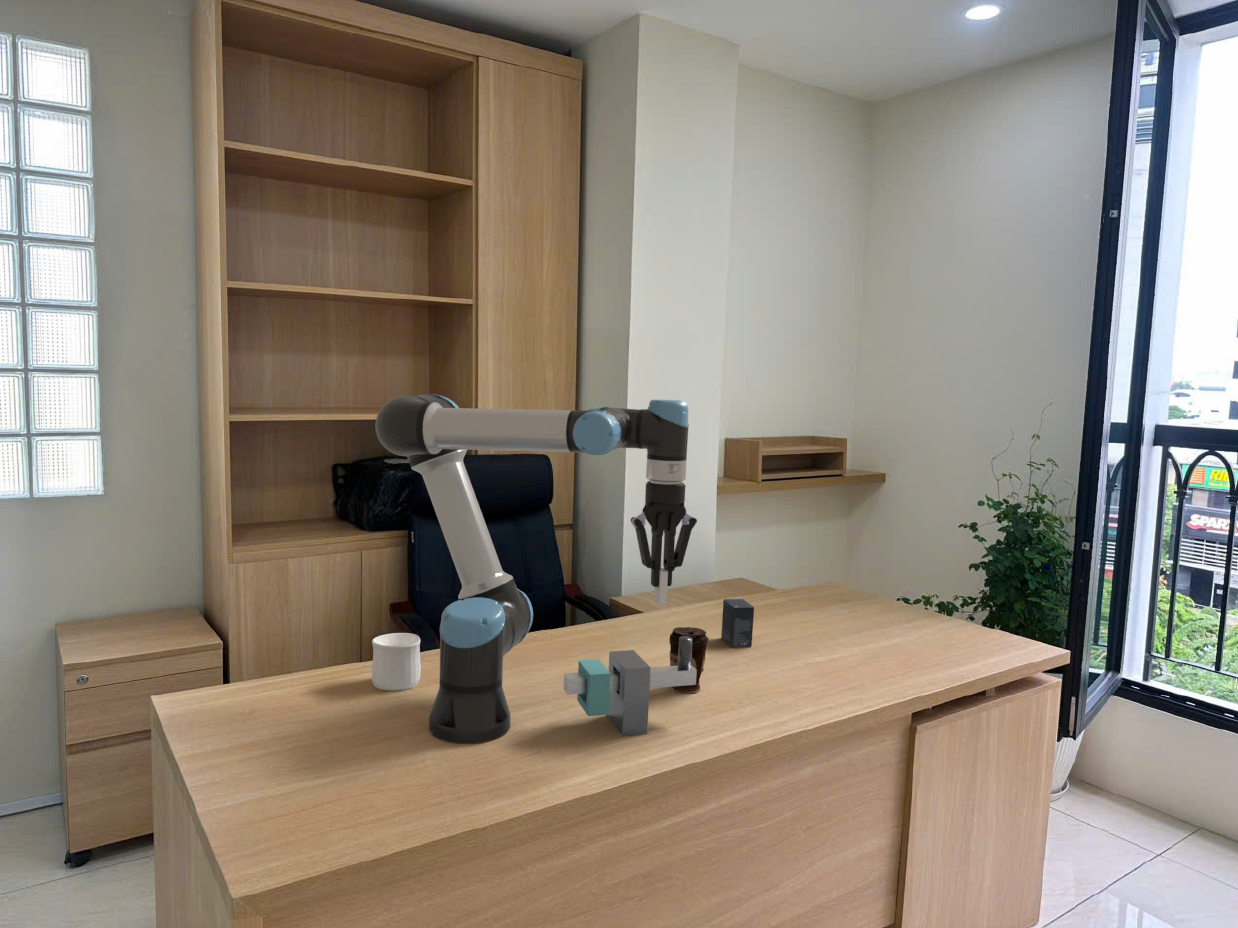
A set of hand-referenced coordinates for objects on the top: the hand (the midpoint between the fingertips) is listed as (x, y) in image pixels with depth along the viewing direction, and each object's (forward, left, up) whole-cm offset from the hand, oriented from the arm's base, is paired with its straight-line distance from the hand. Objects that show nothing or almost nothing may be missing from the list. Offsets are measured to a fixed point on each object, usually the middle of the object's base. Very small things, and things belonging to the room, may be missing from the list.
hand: (660, 602), depth 165 cm
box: (+38, +42, -24) cm, 62 cm away
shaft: (-5, 0, -17) cm, 17 cm away
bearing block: (-6, 0, -24) cm, 25 cm away
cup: (-47, +30, -24) cm, 61 cm away
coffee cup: (+13, +15, -24) cm, 31 cm away
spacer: (-13, 0, -20) cm, 24 cm away
